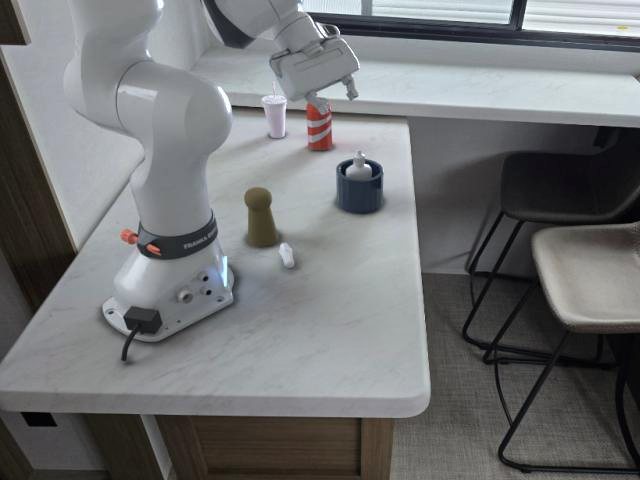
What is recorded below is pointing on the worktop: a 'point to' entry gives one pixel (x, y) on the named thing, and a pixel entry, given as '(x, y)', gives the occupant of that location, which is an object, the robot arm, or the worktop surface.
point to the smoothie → (275, 113)
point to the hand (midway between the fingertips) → (341, 105)
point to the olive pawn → (260, 217)
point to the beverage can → (319, 127)
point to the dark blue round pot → (359, 189)
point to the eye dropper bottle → (359, 168)
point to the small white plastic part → (286, 255)
